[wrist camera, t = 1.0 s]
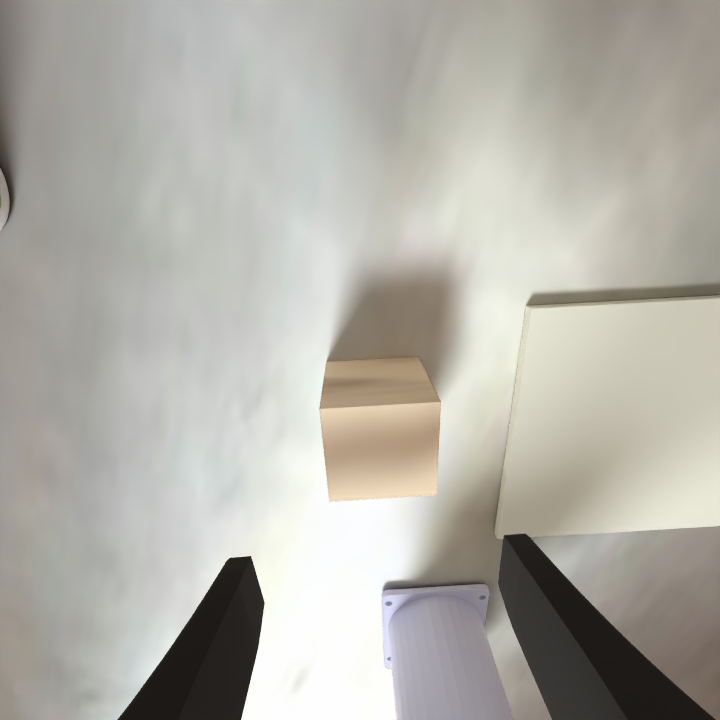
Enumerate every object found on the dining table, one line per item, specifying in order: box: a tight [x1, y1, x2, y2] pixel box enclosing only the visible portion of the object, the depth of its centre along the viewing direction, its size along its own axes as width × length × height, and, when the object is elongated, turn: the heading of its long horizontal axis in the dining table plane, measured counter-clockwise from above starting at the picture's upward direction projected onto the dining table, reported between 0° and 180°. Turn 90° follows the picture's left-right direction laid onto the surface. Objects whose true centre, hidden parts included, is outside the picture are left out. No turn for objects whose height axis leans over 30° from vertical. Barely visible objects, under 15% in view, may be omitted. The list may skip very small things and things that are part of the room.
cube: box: [319, 357, 441, 502], centre depth 17 cm, size 5×5×5 cm
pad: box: [494, 295, 720, 539], centre depth 21 cm, size 16×16×1 cm
